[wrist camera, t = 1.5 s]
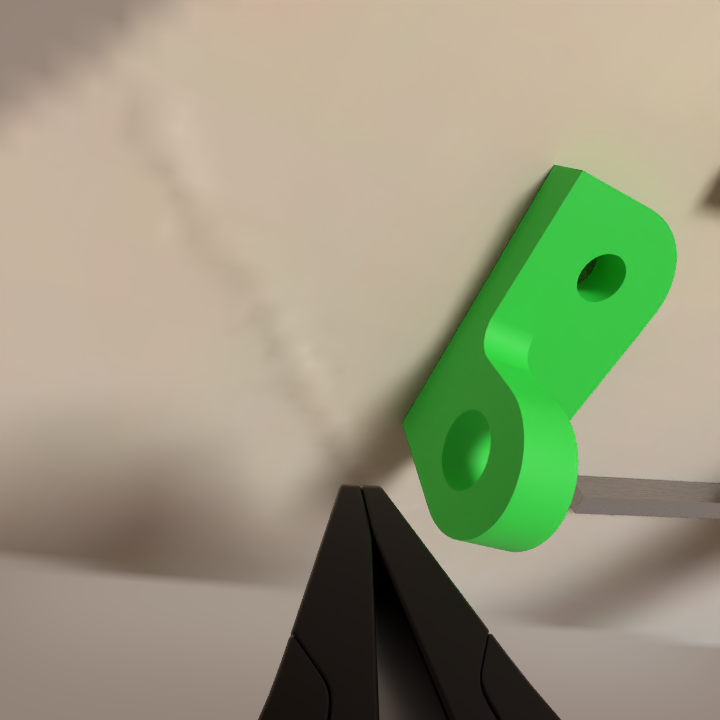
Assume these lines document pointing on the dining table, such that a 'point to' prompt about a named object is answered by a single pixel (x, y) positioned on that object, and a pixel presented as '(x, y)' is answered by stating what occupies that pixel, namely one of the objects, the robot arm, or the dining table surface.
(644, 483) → the u-shaped frame
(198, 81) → the dining table surface
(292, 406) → the dining table surface
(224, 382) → the dining table surface
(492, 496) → the mechanical part
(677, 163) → the dining table surface
